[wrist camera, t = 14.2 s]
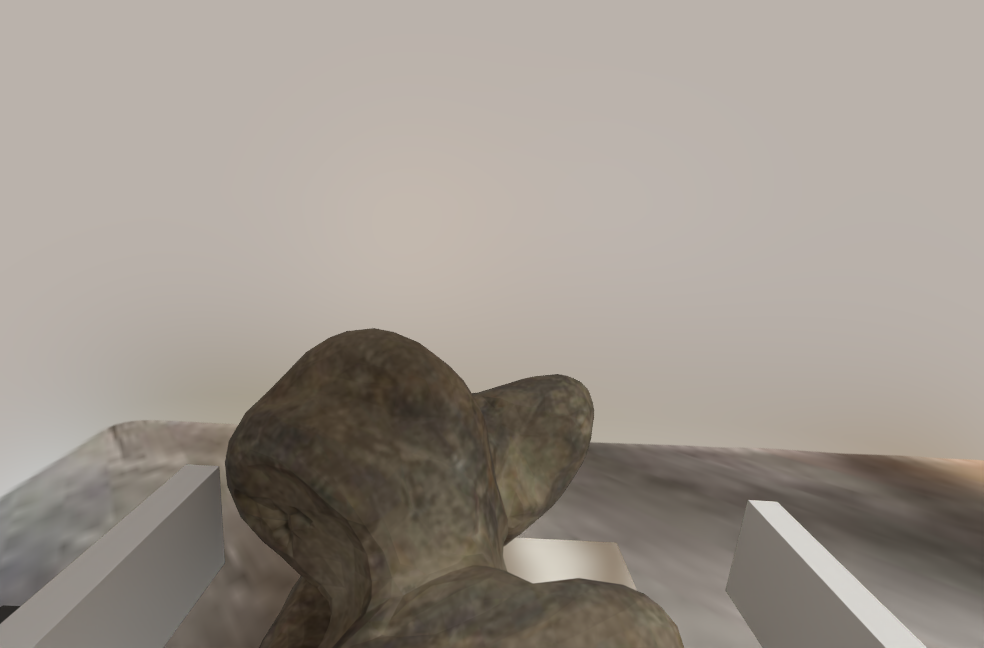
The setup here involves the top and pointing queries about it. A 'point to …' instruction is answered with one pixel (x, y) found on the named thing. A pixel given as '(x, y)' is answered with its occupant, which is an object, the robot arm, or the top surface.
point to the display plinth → (566, 561)
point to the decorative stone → (420, 504)
